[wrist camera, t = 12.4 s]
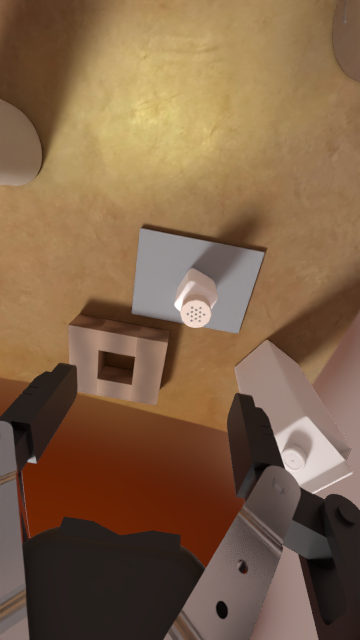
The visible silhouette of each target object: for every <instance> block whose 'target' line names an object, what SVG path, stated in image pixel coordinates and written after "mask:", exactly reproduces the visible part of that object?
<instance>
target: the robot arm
mask: <svg viewBox="0 0 360 640" xmlns="http://www.w3.org/2000/svg"><path fill="white" fill-rule="evenodd" d="M332 35H333V48H334V51H335V55H336V59H337V61H338V63H339V65H340V66H341V68H342V70H343V71H344V72H345V73H346V74H347V75H348V76H350V77H351V78H353V79H355V80H357V81H360V0H339V1H338V4H337V8H336V12H335V16H334V22H333V33H332ZM77 390H78V384H77V367H76V365H71V364H65V363H59V364H58V365H57V366H56V367H55V368H54V370H53V371H52V372H47V371H46V372H44V373H43V374H41V375H39V376H37V377H36V378H35V379H34V380H33V381H32V382H31V383H30V384H29V386H28V387H27V388H26V389H25V390H24V391H23V392H22V394H21V395H20V396H19V397H18V398H17V399H16V400H15V401H14V402H13V403H12V405H11V406H10V407H9V408H8V409H7V410H6V411H5V412H4V413H3V415H2V416H1V417H0V640H250V637H251V634H252V632H253V629H254V626H255V624H256V621H257V618H258V616H259V613H260V611H261V608H262V605H263V602H264V600H265V597H266V595H267V592H268V589H269V586H270V584H271V581H272V578H273V576H274V573H275V571H276V568H277V565H278V563H279V560H280V557H281V554H282V551H283V547H282V545H284V546H286V547H287V548H289V549H291V550H292V551H294V552H296V553H298V555H299V559H300V563H301V567H302V572H303V576H304V580H305V584H306V588H307V593H308V597H309V601H310V605H311V610H312V614H313V618H314V622H315V626H316V630H317V634H318V638H319V640H360V510H359V509H358V508H357V507H356V505H354V504H353V503H352V502H351V501H350V500H348V499H346V498H345V497H343V496H341V495H337V494H330V495H328V496H327V497H326V498H325V499H322V498H321V497H319V496H317V495H315V494H312V493H310V492H308V491H306V490H305V489H303V488H301V487H300V486H299V484H298V482H297V481H296V479H295V478H294V477H293V475H292V474H291V473H289V472H288V471H287V470H286V469H285V466H284V463H283V460H282V457H281V454H280V451H279V448H278V445H277V442H276V439H275V437H274V433H273V430H272V428H271V427H272V426H271V423H270V420H269V417H268V416H267V414H266V413H265V412H264V411H263V409H262V408H259V407H255V403H254V400H253V397H252V395H247V394H241V393H236V394H235V396H234V399H233V402H232V405H231V408H230V411H229V414H228V419H227V430H228V437H229V445H230V453H231V460H232V468H233V476H234V483H235V491H236V497H242V498H245V504H244V506H243V508H242V509H241V510H240V511H239V513H238V515H237V517H236V518H235V520H234V521H233V523H232V525H231V527H230V528H229V530H228V532H227V533H226V535H225V537H224V539H223V540H222V542H221V544H220V545H219V547H218V549H217V550H216V552H215V554H214V556H213V557H212V559H211V561H210V563H209V564H208V566H207V568H206V569H205V567H204V566H203V564H202V563H201V562H200V561H199V559H198V558H196V556H195V555H194V554H192V553H191V552H190V551H189V550H187V549H186V548H185V547H183V546H181V545H180V535H177V534H170V533H164V532H158V531H147V532H140V533H135V534H128V535H118V534H116V533H114V532H112V531H110V530H108V529H107V528H105V527H103V526H101V525H99V524H97V523H95V522H93V521H88V520H82V519H76V518H69V517H64V518H63V521H62V523H61V525H60V527H55V528H52V529H48V530H46V531H43V532H41V533H39V534H37V535H35V536H34V537H32V538H30V535H29V528H28V522H27V515H26V506H25V497H24V488H23V479H22V472H21V471H22V469H23V467H24V466H25V464H26V463H27V462H31V463H37V462H38V460H39V459H40V457H41V455H42V454H43V452H44V450H45V449H46V447H47V445H48V444H49V442H50V440H51V439H52V437H53V435H54V434H55V432H56V431H57V429H58V427H59V425H60V424H61V422H62V421H63V419H64V417H65V416H66V414H67V412H68V411H69V409H70V407H71V406H72V404H73V402H74V401H75V398H76V395H77Z"/></svg>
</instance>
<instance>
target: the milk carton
mask: <svg viewBox="0 0 360 640" xmlns="http://www.w3.org/2000/svg"><path fill="white" fill-rule="evenodd" d="M234 369H235V373H236V378H237V382H238V386H239V390H240V393H241V394H247V395H252V397H253V400H254V403H255V407H259V408H262V409H263V411H264V412H265V413H266V414H267V416H268V417H269V420H270V423H271V426H272V427H271V428H272V430H273V433H274V437H275V439H276V442H277V445H278V448H279V451H280V454H281V457H282V460H283V463H284V466H285V469H286V470H287V471H288V472H289V473H291V474H292V475H293V477H294V478H295V479H296V481H297V482H298V484H299V486H300V487H301V488H303V489H305V490H306V491H308V492H310V493H312V494H314V493H316V492H318V491H319V490H322V489H324V488H325V487H327V486H329V485H331V484H333V483H335V482H337V481H339V480H341V479H343V478H345V477H347V476H348V475H350V474H352V473H353V472H352V470H351V468H350V466H349V465H348V463H347V459H348V456H349V454H350V451H351V448H350V446H349V444H348V443H347V441H346V440H345V438H344V437H343V435H342V433H341V432H340V430H339V429H338V427H337V425H336V424H335V422H334V420H333V419H332V417H331V416H330V414H329V413H328V411H327V409H326V408H325V406H324V404H323V403H322V401H321V400H320V398H319V397H318V395H317V393H316V392H315V390H314V388H313V387H312V385H311V384H310V382H309V380H308V379H307V377H306V376H305V374H304V372H303V371H302V369H301V368H300V366H299V365H298V363H296V362H295V361H294V360H293V359H291V358H290V357H289V356H288V355H286V354H285V353H284V352H283V351H281V350H280V349H279V348H278V347H276V346H275V345H274V344H273V343H271V342H270V341H269V340H267V339H266V340H265V341H264V342H263V343H262V344H260V345H259V346H258V347H257V348H256V349H255V350H254V351H252V352H251V353H250V354H249V355H248V356H247V357H246V358H244V359H243V360H242V361H241V362H240V363H239V364H238V365H237V366H235V368H234Z"/></svg>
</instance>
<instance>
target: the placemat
mask: <svg viewBox="0 0 360 640" xmlns="http://www.w3.org/2000/svg"><path fill="white" fill-rule="evenodd" d="M263 256H264V252H262V251H257V250H252V249H247V248H242V247H237V246H232V245H226V244H221V243H216V242H211V241H206V240H201V239H196V238H191V237H185V236H180V235H175V234H170V233H165V232H160V231H155V230H150V229H145V228H140V235H139V245H138V255H137V265H136V275H135V285H134V295H133V304H132V314H135V315H140V316H146V317H151V318H157V319H162V320H167V321H173V322H178V323H184V322H183V321H182V318H181V314H180V311H179V310H178V309H176V307H175V306H174V304H175V299H176V294H177V289H178V286H179V285H180V283H181V282H182V280H183V278H184V277H185V275H186V274H187V272H188V270H190V269H191V268H193V269H196V270H198V271H199V272H201V273H203V274H204V275H206V276H208V277H209V278H211V279H212V280H213V281H214V282H215V286H216V290H217V294H218V299H217V301H216V303H215V305H214V306H213V308H212V309H211V313H212V315H211V318H210V320H209V322H208V323H207V324H205V325H204V326H203V327H205V328H211V329H216V330H221V331H227V332H232V333H239V330H240V327H241V324H242V321H243V317H244V314H245V311H246V308H247V305H248V302H249V299H250V296H251V293H252V290H253V287H254V284H255V281H256V278H257V275H258V272H259V268H260V265H261V262H262V259H263ZM184 324H185V323H184Z"/></svg>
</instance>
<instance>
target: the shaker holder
mask: <svg viewBox="0 0 360 640" xmlns="http://www.w3.org/2000/svg"><path fill="white" fill-rule="evenodd" d="M68 331H69V364H71V365H76V367H77V384H78V390H77V392H83V393H88V394H94V395H100V396H105V397H111V398H117V399H123V400H128V401H134V402H140V403H145V404H151V405H157V399H158V394H159V389H160V383H161V378H162V372H163V367H164V361H165V356H166V351H167V345H168V340H169V334H170V331H167V330H162V329H156V328H151V327H145V326H140V325H134V324H129V323H123V322H118V321H113V320H107V319H102V318H96V317H91V316H85V315H80V314H79V315H78V316H77V317H76V318H75V319H74V320H73V321H72V322H71V323H70V324H69V325H68ZM105 351H106V352H112V353H117V354H123V355H128V356H134V357H135V363H134V371H133V370H128V369H122V368H117V367H111V366H105Z"/></svg>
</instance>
